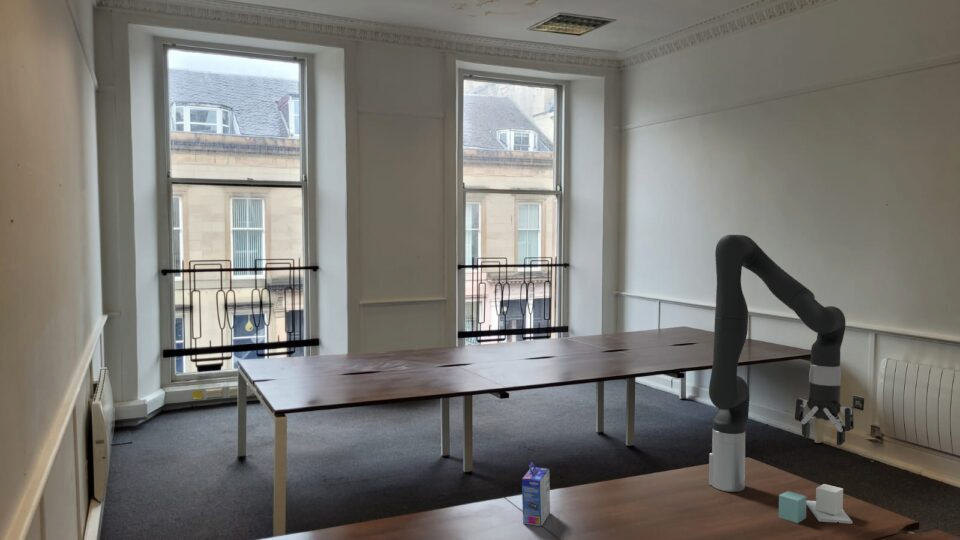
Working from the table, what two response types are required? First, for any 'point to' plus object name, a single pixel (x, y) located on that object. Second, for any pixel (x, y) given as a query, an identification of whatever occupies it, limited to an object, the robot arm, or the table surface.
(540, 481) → the ink cartridge box
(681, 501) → the table surface
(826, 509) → the white block
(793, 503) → the teal block
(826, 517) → the external hard drive
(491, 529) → the table surface
